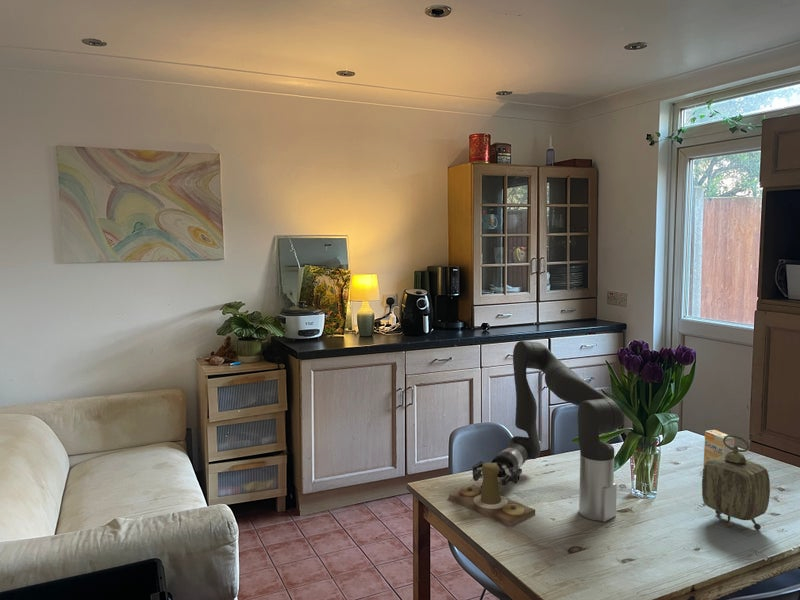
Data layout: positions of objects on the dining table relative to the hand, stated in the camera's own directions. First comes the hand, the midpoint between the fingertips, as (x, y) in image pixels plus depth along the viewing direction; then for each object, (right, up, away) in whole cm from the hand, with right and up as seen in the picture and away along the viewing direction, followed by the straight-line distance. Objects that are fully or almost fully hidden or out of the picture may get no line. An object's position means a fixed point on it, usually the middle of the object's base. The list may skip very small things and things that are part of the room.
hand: (488, 480), depth 173 cm
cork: (+1, -7, +2) cm, 7 cm away
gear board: (+1, -8, +2) cm, 9 cm away
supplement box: (+82, -6, +28) cm, 87 cm away
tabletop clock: (+65, -9, -10) cm, 67 cm away
